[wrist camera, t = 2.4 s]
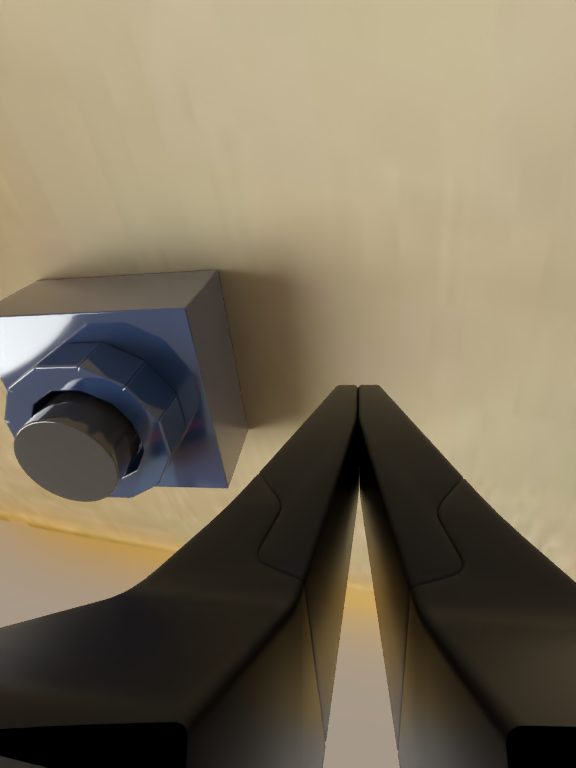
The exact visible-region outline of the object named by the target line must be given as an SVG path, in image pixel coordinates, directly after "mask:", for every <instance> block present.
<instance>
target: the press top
mask: <svg viewBox="0 0 576 768" xmlns="http://www.w3.org/2000/svg"><path fill="white" fill-rule="evenodd" d="M138 449H139V441H138V436H137V433H136V430H135V428H134V426H133V425H132V423H131V422H130V421H129V420H128V419H127V418H126V417H125V416H124V415H123V414H122V413H121V412H120V411H119V410H118V409H117V408H116V407H115V406H114V405H113V404H111V403H108V402H106V401H104V400H101V399H99V398H97V397H94V396H92V395H90V394H87V393H81V392H68V393H63V394H60V395H57V396H55V397H54V398H52V399H51V400H50V401H49V402H47V403H46V404H45V405H44V406H43V407H42V408H41V409H40V410H39V411H38V412H37V413H36V414H35V415H34V416H33V417H32V418H31V419H30V420H29V421H28V422H27V423H26V424H25V425H24V426H22V427H21V428H20V429H19V431H18V432H17V434H16V436H15V440H14V452H15V455H16V458H17V460H18V462H19V464H20V466H21V467H22V469H23V470H24V471H25V472H26V474H27V475H28V476H29V477H30V478H31V479H32V480H34V481H35V482H36V483H37V484H39V485H40V486H41V487H43V488H44V489H46V490H48V491H49V492H51V493H53V494H56V495H58V496H60V497H63V498H66V499H70V500H74V501H81V502H92V501H98V500H101V499H104V498H106V497H107V496H109V495H111V494H112V493H113V492H114V491H115V489H116V488H117V486H118V485H119V483H120V481H121V480H122V478H123V477H124V475H125V474H126V472H127V470H128V469H129V467H130V466H131V464H132V462H133V461H134V459H135V458H136V456H137V453H138Z"/></svg>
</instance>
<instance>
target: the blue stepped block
mask: <svg viewBox="0 0 576 768" xmlns="http://www.w3.org/2000/svg"><path fill="white" fill-rule="evenodd" d="M0 378H1V380H2V382H3V384H4V385H5V387H6V389H7V397H6V409H5V420H6V424H7V426H8V427H9V429H10V431H11V433H12V435H13V436H14V438H15V436H16V434H17V432H18V431H19V429H20V428H21V427H22V426H24V425H25V424H26V423H27V422H28V421H29V420H30V419H31V418H32V417H33V416H34V415H35V414H36V413H37V412H38V411H39V410H40V409H41V408H42V407H43V406H44V405H45V404H46V403H47V402H49V401H50V400H51V399H52V398H54V397H55V396H57V395H60V394H63V393H68V392H81V393H87V394H90V395H92V396H94V397H97V398H99V399H101V400H104V401H106V402H108V403H111V404H113V405H114V406H115V407H116V408H117V409H118V410H119V411H120V412H121V413H122V414H123V415H124V416H125V417H126V418H127V419H128V420H129V421H130V422H131V423H132V425H133V426H134V428H135V430H136V433H137V436H138V441H139V449H138V453H137V456H136V458H135V459H134V461H133V462H132V464H131V466H130V467H129V469H128V470H127V472H126V474H125V475H124V477H123V478H122V480H121V481H120V483H119V485H118V486H117V488H116V489H115V491H114V492H113V493H112V494H111V495H109V496H107V497H120V498H131V497H134V496H136V495H138V494H140V493H142V492H144V491H146V490H148V489H150V488H152V487H154V486H159V487H197V488H228V487H229V484H230V481H231V479H232V476H233V473H234V470H235V467H236V464H237V461H238V458H239V455H240V452H241V449H242V446H243V443H244V440H245V437H246V434H247V431H248V427H247V422H246V417H245V411H244V406H243V401H242V396H241V390H240V385H239V380H238V374H237V369H236V364H235V358H234V353H233V348H232V342H231V337H230V332H229V326H228V321H227V316H226V311H225V305H224V300H223V295H222V289H221V284H220V279H219V273H218V270H204V271H188V272H171V273H154V274H138V275H121V276H105V277H88V278H72V279H55V280H38V281H36V282H34V283H32V284H30V285H29V286H27V287H25V288H23V289H21V290H19V291H18V292H16V293H14V294H12V295H10V296H8V297H7V298H5V299H3V300H1V301H0Z"/></svg>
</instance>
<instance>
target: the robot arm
mask: <svg viewBox="0 0 576 768" xmlns="http://www.w3.org/2000/svg"><path fill="white" fill-rule="evenodd" d="M359 485H360V497H361V505H362V512H363V519H364V526H365V533H366V539H367V546H368V553H369V560H370V567H371V573H372V580H373V587H374V594H375V600H376V608H377V614H378V621H379V628H380V635H381V642H382V648H383V655H384V662H385V669H386V675H387V683H388V689H389V696H390V703H391V710H392V717H393V724H394V730H395V737H396V744H397V750H398V758H399V765H400V768H576V582H575V581H573V580H572V579H571V578H570V577H569V576H568V575H566V574H565V573H564V572H563V571H562V570H561V569H560V568H558V567H557V566H556V565H555V564H554V563H553V562H552V561H550V560H549V559H548V558H547V557H546V556H545V555H544V554H542V553H541V552H540V551H539V550H538V549H537V548H536V547H534V546H533V545H532V544H531V543H530V542H529V541H528V540H526V539H525V538H524V537H523V536H522V535H521V534H520V533H519V532H517V531H516V530H515V529H514V528H513V527H512V526H511V525H510V524H509V523H508V522H507V521H505V520H504V519H503V518H502V517H501V516H500V515H499V514H498V513H497V512H496V511H495V510H494V509H493V508H492V507H491V506H490V505H489V504H488V503H487V502H486V501H485V500H484V499H483V498H482V497H481V496H480V495H479V494H478V493H477V492H476V491H475V489H474V488H473V487H472V486H471V485H470V484H469V483H468V482H467V481H466V480H465V479H463V477H462V475H461V474H460V473H459V472H458V471H457V470H456V469H455V468H454V467H453V466H452V465H451V463H450V462H449V461H448V460H447V459H446V458H445V457H444V456H443V455H442V454H441V453H440V451H439V450H438V449H437V448H436V447H435V446H434V445H433V444H432V443H431V442H430V440H429V439H428V438H427V437H426V436H425V435H424V434H423V433H422V432H421V431H420V430H419V428H418V427H417V426H416V425H415V424H414V423H413V422H412V421H411V420H410V419H409V418H408V416H407V415H406V414H405V413H404V412H403V411H402V410H401V409H400V408H399V407H398V406H397V404H396V403H395V402H394V401H393V400H392V399H391V398H390V397H389V396H388V395H387V393H386V392H385V391H384V390H383V389H382V388H381V387H380V386H379V385H360V386H359V387H357V386H355V385H339V386H337V387H336V388H335V389H334V390H333V391H332V392H331V393H330V394H329V396H328V397H327V398H326V399H325V400H324V401H323V402H322V403H321V404H320V406H319V407H318V408H317V409H316V410H315V411H314V412H313V413H312V415H311V416H310V417H309V418H308V419H307V420H306V421H305V422H304V423H303V425H302V426H301V427H300V428H299V429H298V430H297V431H296V432H295V433H294V435H293V436H292V437H291V438H290V439H289V440H288V441H287V442H286V444H285V445H284V446H283V447H282V448H281V449H280V450H279V451H278V452H277V454H276V455H275V456H274V457H273V458H272V459H271V460H270V461H269V462H268V464H267V465H266V466H265V467H264V468H263V469H262V470H261V471H260V473H259V475H257V476H256V477H255V478H254V479H253V480H252V481H251V482H250V483H249V485H248V486H247V487H246V488H245V489H244V490H243V491H242V492H241V493H240V494H239V495H238V496H237V497H236V498H235V499H234V500H233V501H232V502H231V503H230V504H229V505H228V506H227V507H226V508H225V509H224V510H223V511H222V512H221V513H220V514H219V515H218V516H216V517H215V518H214V519H213V520H212V521H211V522H210V523H209V524H208V525H207V526H206V527H204V528H203V529H202V530H201V531H200V532H199V533H198V534H196V535H195V536H194V537H193V538H192V539H191V540H190V541H188V542H187V543H186V544H185V545H184V546H183V547H182V548H181V549H179V550H178V551H177V552H176V553H175V554H174V555H173V556H172V557H170V558H169V559H168V560H167V561H166V562H165V563H164V564H162V565H161V566H160V567H159V568H158V569H157V570H156V571H155V572H153V573H152V574H151V575H149V576H148V577H147V578H146V579H144V580H143V581H142V582H140V583H139V584H137V585H136V586H134V587H133V588H131V589H129V590H128V591H126V592H124V593H121V594H119V595H117V596H114V597H112V598H109V599H106V600H102V601H99V602H95V603H91V604H87V605H84V606H80V607H76V608H72V609H69V610H66V611H62V612H58V613H54V614H50V615H47V616H43V617H39V618H35V619H32V620H28V621H24V622H21V623H17V624H13V625H10V626H6V627H2V628H0V768H323V761H324V753H325V742H326V738H327V730H328V722H329V715H330V708H331V700H332V693H333V685H334V677H335V670H336V662H337V654H338V647H339V640H340V632H341V624H342V617H343V609H344V602H345V593H346V587H347V579H348V571H349V564H350V556H351V549H352V541H353V534H354V526H355V518H356V511H357V503H358V494H359Z"/></svg>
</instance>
